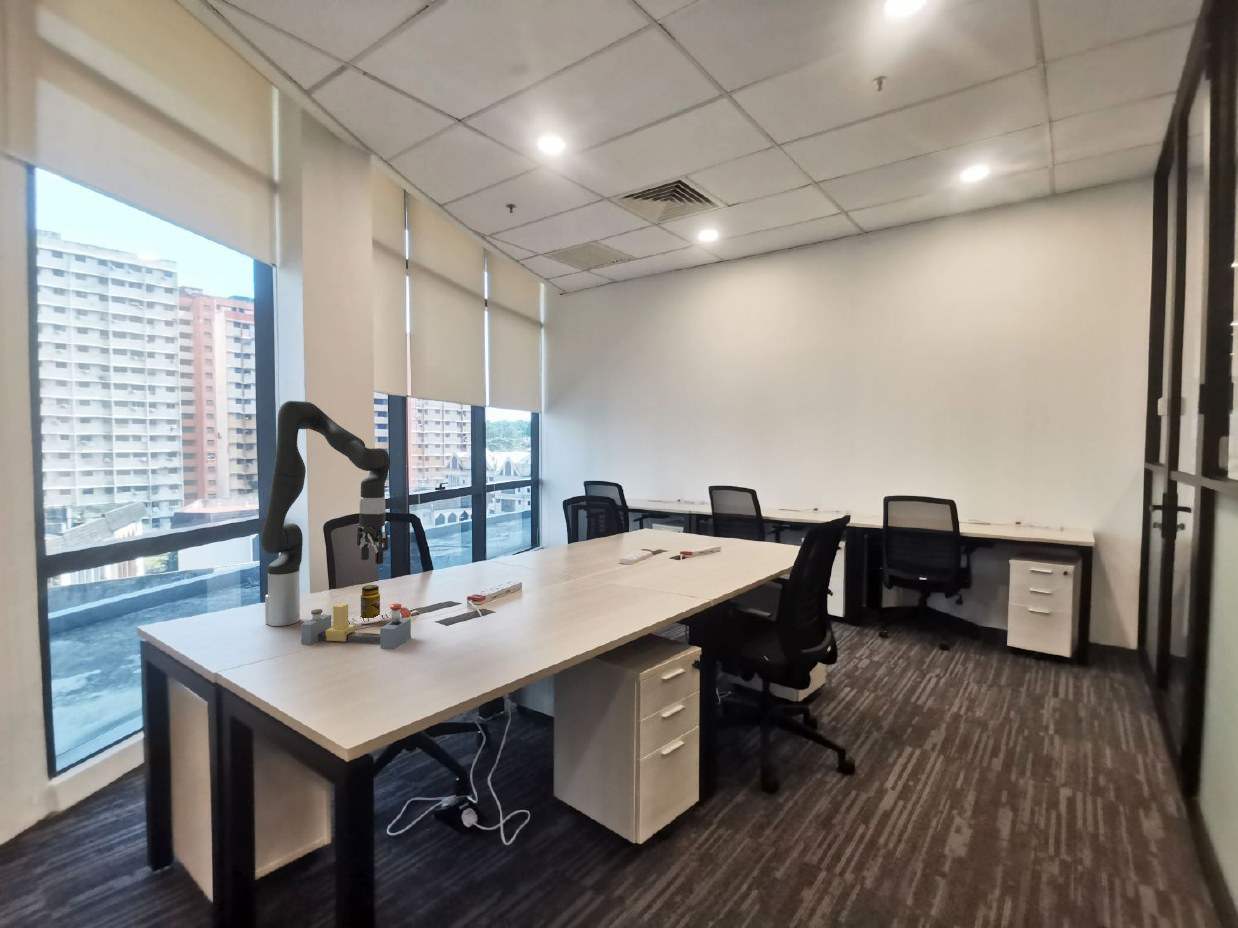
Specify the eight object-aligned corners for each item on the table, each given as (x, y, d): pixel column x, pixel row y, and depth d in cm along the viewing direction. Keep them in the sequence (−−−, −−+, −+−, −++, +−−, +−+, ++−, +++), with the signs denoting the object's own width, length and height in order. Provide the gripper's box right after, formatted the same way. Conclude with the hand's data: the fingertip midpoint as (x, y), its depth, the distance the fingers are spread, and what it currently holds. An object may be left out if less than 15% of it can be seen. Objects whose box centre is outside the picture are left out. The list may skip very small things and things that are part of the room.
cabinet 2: (380, 648, 166) (380, 628, 166) (397, 636, 176) (397, 617, 176) (394, 648, 166) (394, 628, 165) (410, 637, 176) (410, 618, 175)
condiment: (384, 621, 191) (384, 586, 191) (358, 626, 185) (358, 591, 185) (376, 616, 197) (376, 582, 196) (350, 621, 191) (350, 586, 190)
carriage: (325, 640, 170) (325, 607, 170) (337, 634, 176) (337, 602, 176) (344, 641, 170) (343, 608, 169) (355, 635, 176) (355, 602, 175)
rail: (318, 640, 172) (318, 633, 172) (324, 637, 175) (324, 630, 175) (386, 644, 170) (386, 637, 170) (391, 640, 173) (391, 634, 172)
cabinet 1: (301, 643, 169) (301, 615, 169) (322, 632, 179) (322, 605, 179) (310, 644, 169) (310, 615, 168) (331, 633, 179) (331, 606, 178)
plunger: (388, 625, 169) (388, 606, 169) (393, 622, 172) (393, 603, 172) (398, 625, 169) (398, 606, 169) (403, 622, 172) (403, 603, 172)
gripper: (349, 510, 179) (349, 560, 179) (373, 514, 170) (372, 567, 171) (372, 508, 185) (371, 556, 185) (395, 512, 176) (395, 563, 177)
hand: (372, 561), depth 178 cm, fingers open, 8 cm apart
